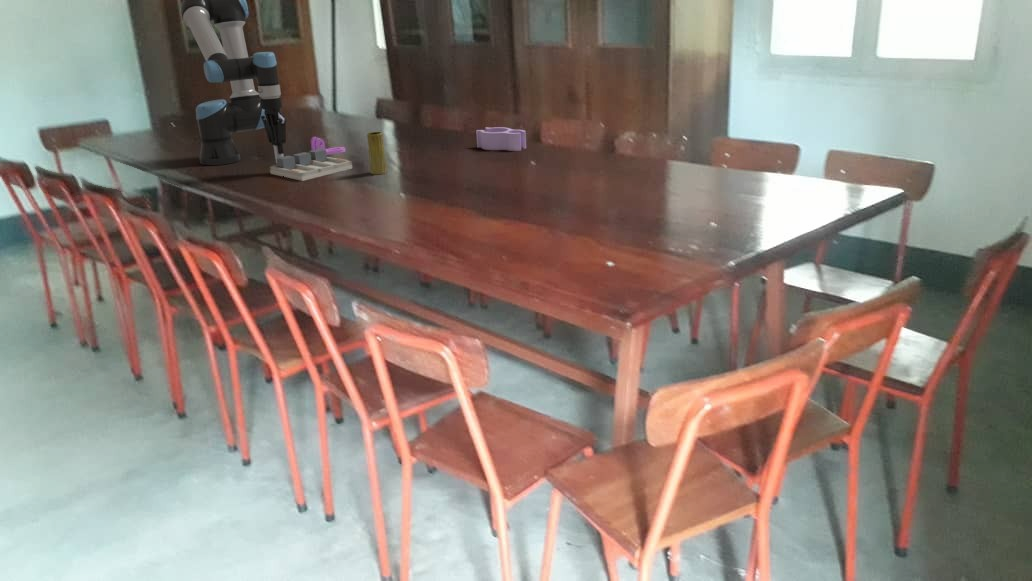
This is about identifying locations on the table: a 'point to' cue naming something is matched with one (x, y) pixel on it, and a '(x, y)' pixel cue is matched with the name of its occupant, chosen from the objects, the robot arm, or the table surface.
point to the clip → (501, 139)
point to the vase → (376, 153)
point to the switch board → (313, 169)
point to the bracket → (320, 144)
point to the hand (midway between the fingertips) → (280, 162)
